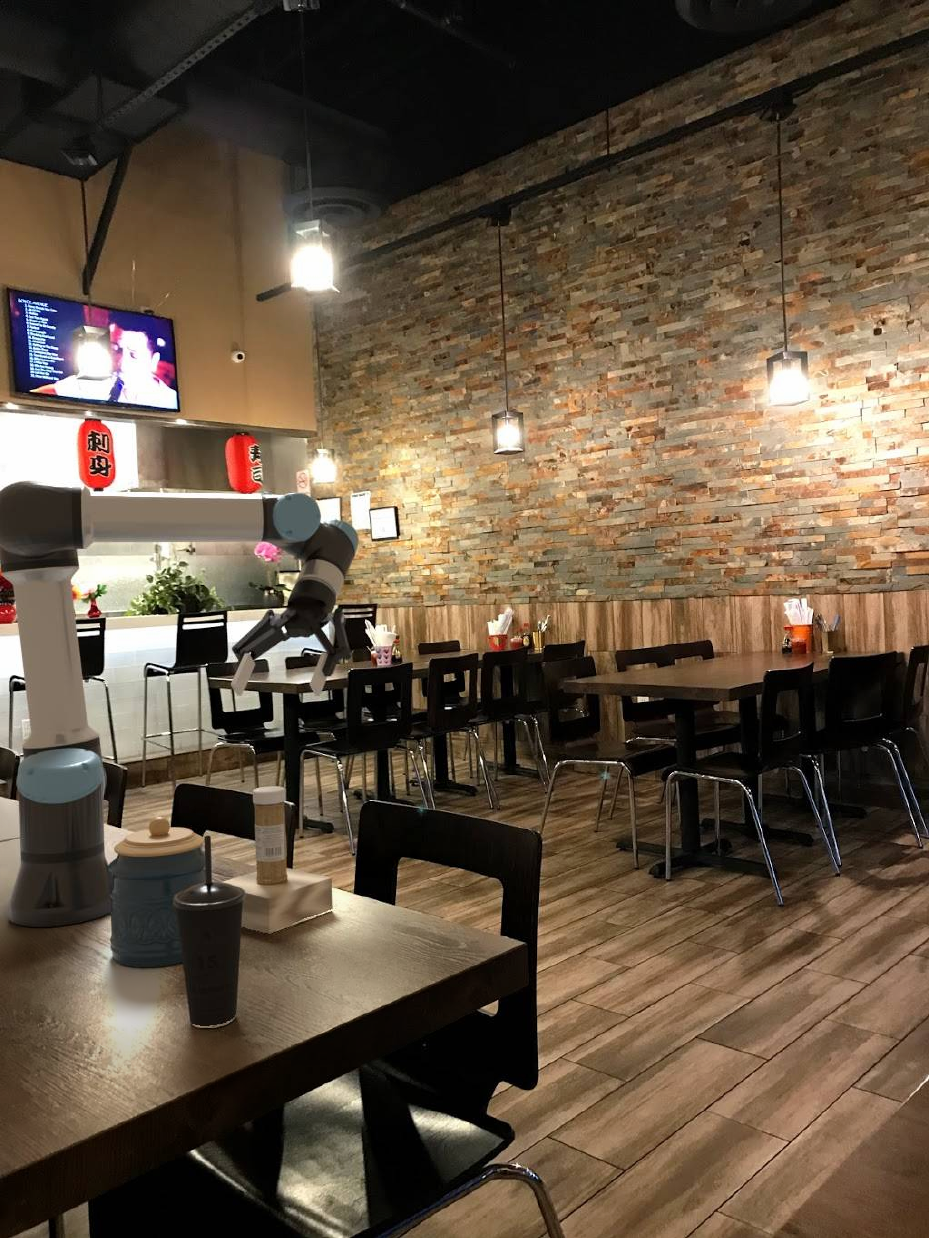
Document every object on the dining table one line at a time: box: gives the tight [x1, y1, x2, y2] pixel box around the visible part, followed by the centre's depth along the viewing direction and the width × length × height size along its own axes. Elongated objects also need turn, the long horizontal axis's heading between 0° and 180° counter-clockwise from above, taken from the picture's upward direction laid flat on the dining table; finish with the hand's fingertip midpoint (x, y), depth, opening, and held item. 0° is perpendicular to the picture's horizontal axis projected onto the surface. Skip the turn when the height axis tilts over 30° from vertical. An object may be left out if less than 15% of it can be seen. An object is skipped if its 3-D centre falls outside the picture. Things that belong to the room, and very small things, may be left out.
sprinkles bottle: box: [252, 785, 288, 884], centre depth 143 cm, size 5×5×13 cm
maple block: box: [222, 867, 334, 935], centre depth 143 cm, size 12×12×5 cm
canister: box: [108, 816, 213, 968], centre depth 129 cm, size 13×13×18 cm
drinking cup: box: [173, 835, 245, 1026], centre depth 107 cm, size 8×8×20 cm
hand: (274, 690), depth 153 cm, fingers open, 13 cm apart
